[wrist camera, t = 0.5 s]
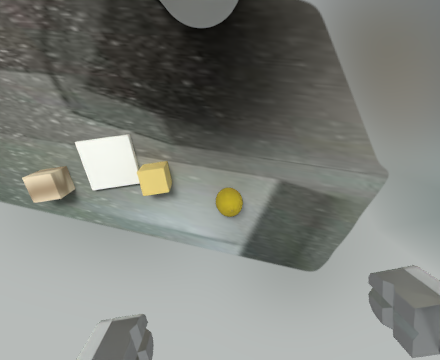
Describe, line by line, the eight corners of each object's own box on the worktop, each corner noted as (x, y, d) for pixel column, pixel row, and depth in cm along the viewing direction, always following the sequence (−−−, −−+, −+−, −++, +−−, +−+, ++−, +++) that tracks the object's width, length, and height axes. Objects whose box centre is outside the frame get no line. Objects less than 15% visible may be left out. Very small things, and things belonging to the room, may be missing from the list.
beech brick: (41, 169, 43) (22, 177, 38) (66, 166, 43) (50, 173, 38) (51, 192, 45) (34, 202, 40) (75, 188, 45) (61, 198, 40)
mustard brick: (143, 164, 44) (136, 171, 40) (167, 161, 45) (163, 167, 40) (149, 186, 46) (143, 196, 41) (172, 183, 46) (169, 192, 42)
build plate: (78, 141, 42) (74, 142, 40) (129, 134, 42) (127, 134, 41) (95, 188, 45) (92, 190, 44) (142, 181, 45) (141, 183, 44)
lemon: (220, 208, 49) (224, 227, 42) (210, 188, 47) (212, 204, 40) (242, 199, 49) (250, 216, 41) (233, 178, 47) (239, 192, 40)
